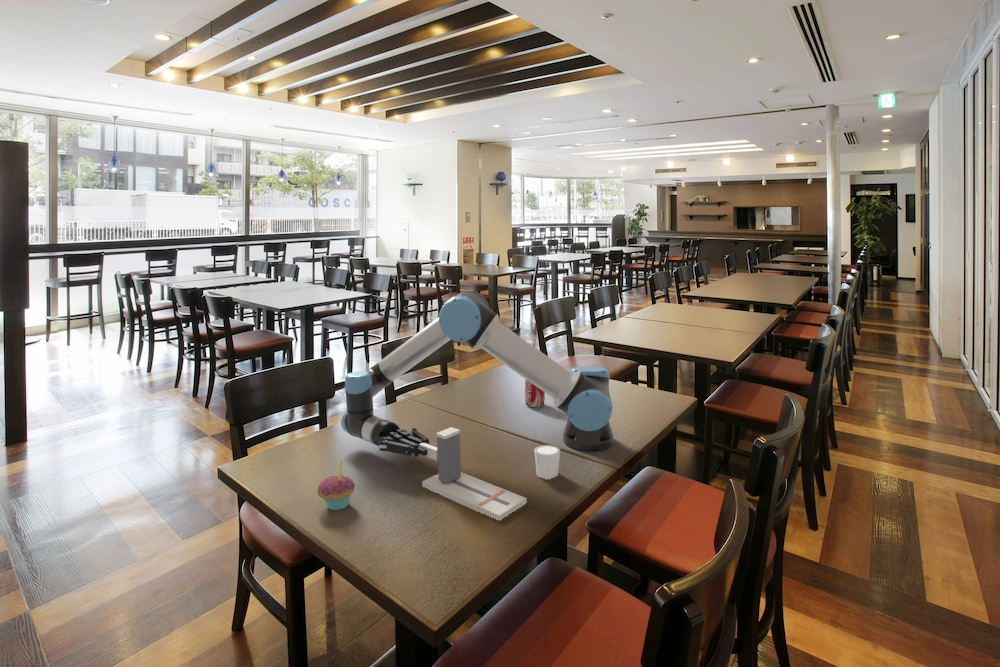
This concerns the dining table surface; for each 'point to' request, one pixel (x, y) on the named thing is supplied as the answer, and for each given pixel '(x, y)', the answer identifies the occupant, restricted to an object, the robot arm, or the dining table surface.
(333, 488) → the cupcake
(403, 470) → the dining table surface
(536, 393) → the soda can
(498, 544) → the dining table surface
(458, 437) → the fader tab
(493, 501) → the fader base
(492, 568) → the dining table surface
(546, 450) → the white cup
